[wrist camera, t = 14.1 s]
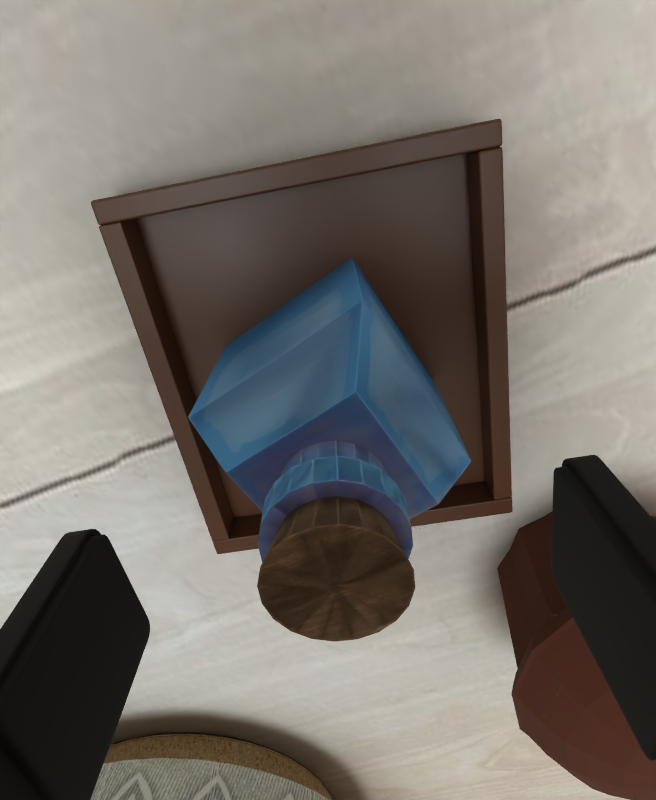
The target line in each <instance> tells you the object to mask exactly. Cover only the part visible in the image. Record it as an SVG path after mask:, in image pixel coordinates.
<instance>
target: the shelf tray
mask: <svg viewBox="0 0 656 800" xmlns="http://www.w3.org/2000/svg"><path fill="white" fill-rule="evenodd" d="M501 145H502V121H501V119H495V120H490V121H485V122H480V123H475V124H470V125H465V126H460V127H455V128H450V129H445V130H440V131H435V132H430V133H426V134H421V135H416V136H411V137H406V138H401V139H396V140H391V141H386V142H381V143H376V144H371V145H366V146H361V147H356V148H351V149H346V150H341V151H336V152H331V153H326V154H321V155H316V156H311V157H306V158H301V159H297V160H292V161H287V162H282V163H277V164H272V165H267V166H262V167H257V168H252V169H247V170H242V171H237V172H232V173H227V174H222V175H217V176H212V177H207V178H202V179H197V180H192V181H187V182H182V183H177V184H172V185H168V186H163V187H158V188H153V189H148V190H143V191H138V192H133V193H128V194H123V195H118V196H113V197H108V198H103V199H98V200H93V201H92V202H91V205H92V208H93V211H94V213H95V216H96V219H97V222H98V224H99V225H101V226H99V229H100V231H101V234H102V237H103V240H104V242H105V245H106V248H107V251H108V254H109V256H110V259H111V262H112V265H113V267H114V270H115V273H116V276H117V278H118V281H119V284H120V287H121V289H122V292H123V295H124V298H125V300H126V303H127V306H128V309H129V312H130V314H131V317H132V320H133V323H134V325H135V328H136V331H137V334H138V336H139V339H140V342H141V345H142V347H143V350H144V353H145V356H146V359H147V361H148V364H149V367H150V370H151V372H152V375H153V378H154V381H155V383H156V386H157V389H158V392H159V394H160V397H161V400H162V403H163V406H164V408H165V411H166V414H167V417H168V419H169V422H170V425H171V428H172V430H173V433H174V436H175V439H176V441H177V444H178V447H179V450H180V452H181V455H182V458H183V461H184V464H185V466H186V469H187V472H188V475H189V477H190V480H191V483H192V486H193V488H194V491H195V494H196V497H197V499H198V502H199V505H200V508H201V511H202V513H203V516H204V519H205V522H206V524H207V527H208V530H209V533H210V535H211V538H212V541H213V544H214V546H215V549H216V552H217V554H222V553H229V552H236V551H244V550H251V549H258V548H259V547H258V538H259V532H260V525H261V519H262V514H263V512H262V511H261V510H260V509H259V508H258V506H257V505H256V504H255V503H254V502H253V501H252V500H251V499H250V498H249V497H248V496H247V495H246V494H245V493H244V492H243V491H242V489H241V488H240V487H239V486H238V485H237V484H236V483H235V482H234V481H233V480H232V479H231V478H230V477H229V476H228V475H227V473H226V472H225V471H224V469H223V468H222V467H221V465H220V464H219V462H218V461H217V459H216V458H215V456H214V455H213V453H212V452H211V450H210V449H209V447H208V446H207V444H206V443H205V442H204V440H203V439H202V437H201V436H200V434H199V433H198V431H197V430H196V428H195V427H194V425H193V424H192V422H191V421H190V420H189V418H188V416H189V414H190V413H191V411H192V409H193V407H194V405H195V403H196V401H197V399H198V397H199V395H200V394H201V392H202V390H203V388H204V386H205V384H206V382H207V380H208V378H209V376H210V375H211V373H212V371H213V369H214V367H215V365H216V363H217V361H218V359H219V357H220V356H221V354H222V352H223V350H224V348H225V346H226V345H228V344H229V343H231V342H232V341H233V340H235V339H236V338H238V337H239V336H241V335H242V334H243V333H245V332H246V331H248V330H249V329H251V328H252V327H253V326H255V325H256V324H258V323H259V322H261V321H262V320H263V319H265V318H266V317H268V316H269V315H270V314H272V313H273V312H275V311H276V310H278V309H279V308H280V307H282V306H283V305H285V304H286V303H288V302H289V301H290V300H292V299H293V298H295V297H296V296H298V295H299V294H300V293H302V292H303V291H305V290H306V289H308V288H309V287H310V286H312V285H313V284H315V283H316V282H318V281H319V280H320V279H322V278H323V277H325V276H326V275H328V274H329V273H330V272H332V271H333V270H335V269H336V268H338V267H339V266H340V265H342V264H343V263H345V262H346V261H348V260H349V259H350V258H353V259H354V261H355V262H356V264H357V265H358V267H359V268H360V270H361V272H362V273H363V275H364V276H365V278H366V279H367V281H368V282H369V284H370V285H371V287H372V288H373V290H374V291H375V293H376V294H377V296H378V297H379V299H380V300H381V302H382V303H383V305H384V306H385V308H386V309H387V311H388V313H389V314H390V316H391V317H392V319H393V320H394V322H395V323H396V325H397V326H398V328H399V329H400V331H401V332H402V334H403V335H404V337H405V338H406V340H407V341H408V343H409V344H410V346H411V347H412V349H413V350H414V352H415V354H416V355H417V357H418V358H419V360H420V361H421V363H422V364H423V366H424V367H425V369H426V370H427V372H428V373H429V375H430V376H431V378H432V379H433V381H434V383H435V385H436V387H437V389H438V391H439V394H440V396H441V398H442V400H443V402H444V404H445V406H446V408H447V411H448V413H449V415H450V417H451V419H452V421H453V423H454V425H455V427H456V430H457V432H458V434H459V436H460V438H461V440H462V442H463V444H464V446H465V449H466V451H467V453H468V455H469V457H470V459H471V462H470V464H469V465H468V466H467V468H466V469H465V470H464V471H463V473H462V474H461V475H460V477H459V478H458V479H457V481H456V482H455V483H454V485H453V486H452V487H451V489H450V490H449V491H448V492H447V494H446V495H445V496H444V498H443V499H442V500H441V502H440V503H439V504H437V505H436V506H434V507H432V508H430V509H428V510H426V511H424V512H422V513H420V514H419V515H417V516H415V517H413V518H411V519H410V523H411V527H412V526H419V525H426V524H433V523H440V522H447V521H454V520H461V519H468V518H475V517H482V516H489V515H496V514H503V513H510V512H512V498H511V496H512V490H511V453H510V415H509V378H508V341H507V303H506V266H505V229H504V191H503V154H502V148H501V147H500V146H501Z"/></svg>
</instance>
